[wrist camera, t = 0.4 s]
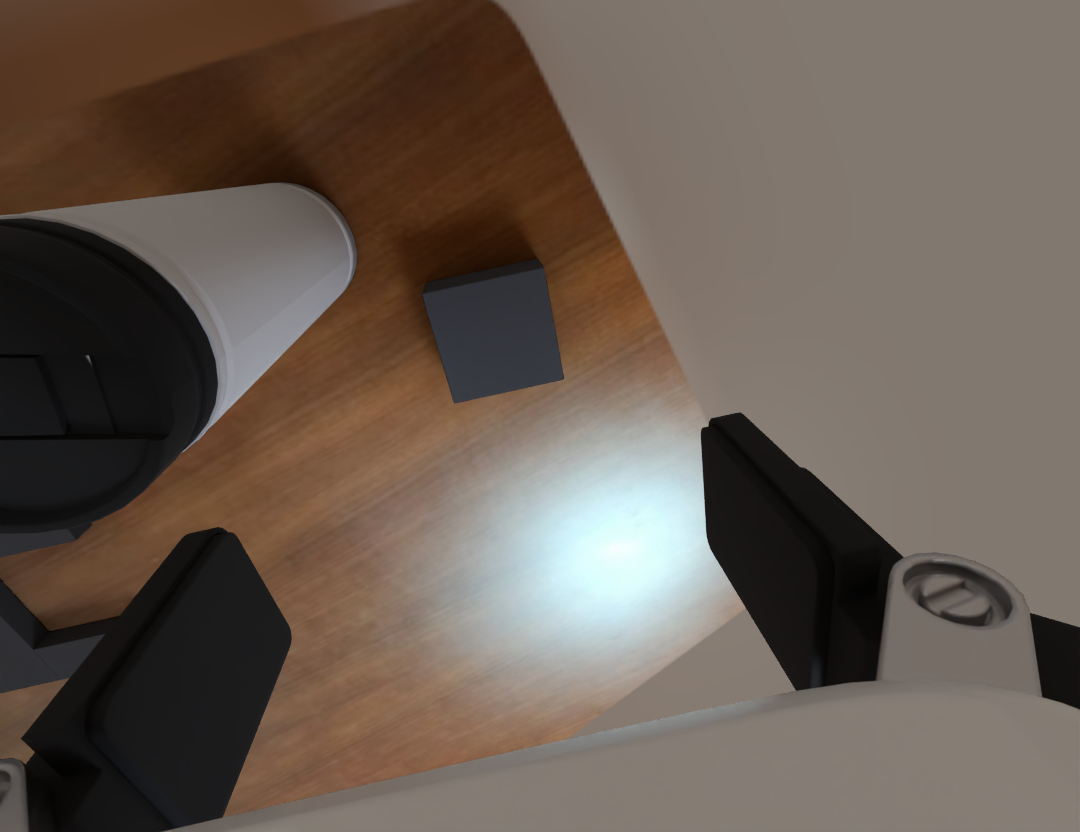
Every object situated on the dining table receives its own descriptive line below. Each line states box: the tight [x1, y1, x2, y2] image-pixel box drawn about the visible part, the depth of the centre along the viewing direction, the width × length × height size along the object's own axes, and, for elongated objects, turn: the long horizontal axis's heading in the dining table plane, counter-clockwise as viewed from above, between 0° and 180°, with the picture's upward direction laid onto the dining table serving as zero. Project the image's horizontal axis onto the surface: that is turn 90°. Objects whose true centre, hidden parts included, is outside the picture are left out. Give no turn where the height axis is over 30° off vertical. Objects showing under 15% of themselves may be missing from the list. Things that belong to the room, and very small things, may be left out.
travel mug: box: [0, 182, 357, 534], centre depth 18 cm, size 6×7×20 cm
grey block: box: [422, 259, 564, 403], centre depth 29 cm, size 6×6×3 cm
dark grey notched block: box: [0, 523, 119, 693], centre depth 34 cm, size 14×14×2 cm
